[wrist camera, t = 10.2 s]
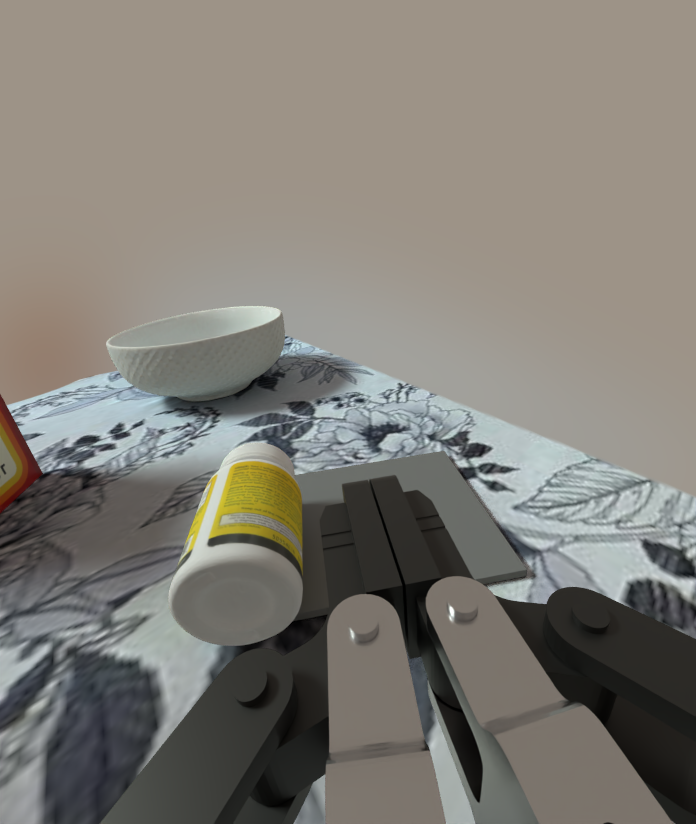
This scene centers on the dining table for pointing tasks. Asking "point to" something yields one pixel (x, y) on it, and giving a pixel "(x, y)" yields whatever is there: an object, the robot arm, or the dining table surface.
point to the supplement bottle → (242, 552)
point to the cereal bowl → (200, 352)
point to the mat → (424, 472)
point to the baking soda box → (14, 460)
